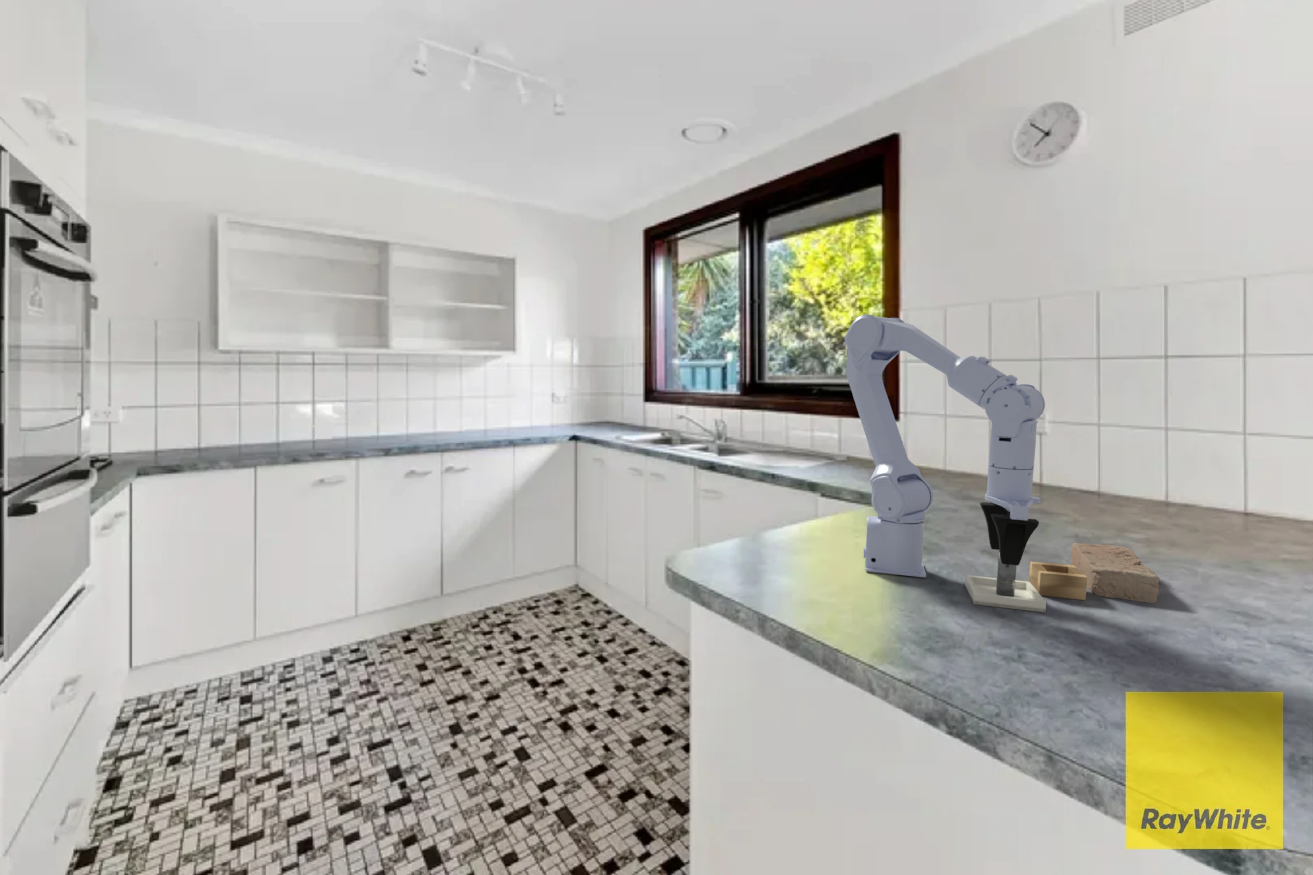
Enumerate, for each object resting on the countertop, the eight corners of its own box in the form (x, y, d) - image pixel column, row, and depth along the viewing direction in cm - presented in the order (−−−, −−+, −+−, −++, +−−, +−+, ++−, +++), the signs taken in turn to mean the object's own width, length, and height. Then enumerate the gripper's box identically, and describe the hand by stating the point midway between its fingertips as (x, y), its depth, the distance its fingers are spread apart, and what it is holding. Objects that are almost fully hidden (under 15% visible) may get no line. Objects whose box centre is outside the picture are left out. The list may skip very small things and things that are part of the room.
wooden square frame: (1038, 595, 89) (1040, 572, 89) (1028, 582, 95) (1030, 561, 95) (1085, 600, 87) (1087, 577, 87) (1072, 586, 93) (1073, 565, 93)
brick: (1161, 605, 86) (1164, 574, 86) (1091, 596, 90) (1094, 566, 89) (1126, 573, 101) (1128, 546, 101) (1068, 566, 105) (1070, 540, 104)
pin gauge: (998, 596, 87) (1001, 553, 87) (993, 590, 90) (996, 549, 89) (1016, 597, 87) (1019, 555, 86) (1011, 592, 89) (1014, 550, 88)
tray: (973, 604, 86) (974, 594, 86) (964, 583, 94) (964, 574, 94) (1045, 612, 83) (1046, 602, 83) (1028, 590, 91) (1029, 581, 91)
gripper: (1057, 476, 78) (1049, 574, 80) (1029, 461, 92) (1022, 546, 93) (997, 473, 81) (990, 568, 82) (978, 459, 94) (972, 541, 96)
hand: (1004, 556), depth 88 cm, fingers open, 7 cm apart
